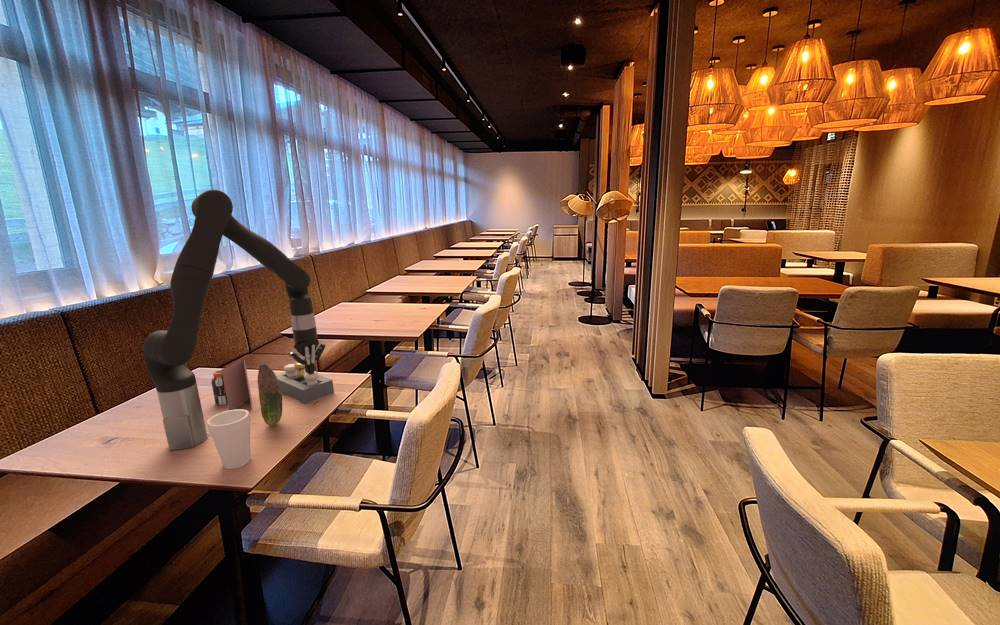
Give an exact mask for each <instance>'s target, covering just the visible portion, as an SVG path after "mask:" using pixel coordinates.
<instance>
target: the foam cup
mask: <svg viewBox="0 0 1000 625" xmlns="http://www.w3.org/2000/svg"><path fill="white" fill-rule="evenodd" d="M206 425H207V430H208V433H209V434H210V435H211V438H212V440H213V442H214V446H215V448H216V451H217V454H218V456H219V458H220V461H221V462H220V463H221V464H222V467H223V468H224V469H227V470H234V469H238V468H241V467H244V466H245V465H247V464H248V463H250V462H251V461H250V460H251V457H252V456H251V454H252V453H251V416H250V412H249V411H248V410H246V409H243V408H241V409H239V408H238V409H237V408H235V409H234V410H229V409H228V410H225V411H221V412H219V413H217V414H214V415H213V416H210V418H208V420H207V421H206Z"/></svg>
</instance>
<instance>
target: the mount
mask: <svg viewBox="0 0 1000 625" xmlns="http://www.w3.org/2000/svg"><path fill="white" fill-rule="evenodd" d="M304 371H305V368H304ZM305 373H306V371H305ZM276 377H277V380H278V383H279V386H280V389H281V394H283V395H285V396H287V397H290V398H291V399H295V400H296V401H297V402H300V403H303V404H305V405H306V404H309V403H311V402H315V401H316V400H320V399H321V398H324V397H326V396H329V395H332V394H335V390H334V389H335V388H334V382H333V379H330V378H328V377H325V376H323V375H321V374H318V379H317V384H315V385H312V386H307V381H306V380H303V381H301V382H299V380H298V374H297V376H294V377H291V378H288V377H287V373H286V372H284V373H280V374H277V375H276Z"/></svg>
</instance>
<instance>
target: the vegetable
mask: <svg viewBox="0 0 1000 625" xmlns="http://www.w3.org/2000/svg"><path fill="white" fill-rule="evenodd" d="M257 372H258V373H257V386H258V387H257V388H258V389H257V390H258V398H259V406H260V412H261V417H262V419H263V421H264V423H265V424H266V425H268V426H269V427H273V426H276V425H277V424H279V422H280V421H281V419H282V417H283V416H282V414H283V395H282V394H283V393H281V389H280V386H279V383H278V380H277V377H276V376H277V375H276V373H275V372H274V371H273V370H272V368H270V367H269V366H268V365H267V364H266V363H261V364H259V366H258V371H257Z"/></svg>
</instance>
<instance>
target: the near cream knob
mask: <svg viewBox="0 0 1000 625" xmlns="http://www.w3.org/2000/svg"><path fill="white" fill-rule="evenodd" d="M318 375H319V372H318V371H316V370H315V371H314V373H313V374H308V373H305V374H304V379H305V380H306V381H307V386H312V385H315V384H317V379H318Z"/></svg>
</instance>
